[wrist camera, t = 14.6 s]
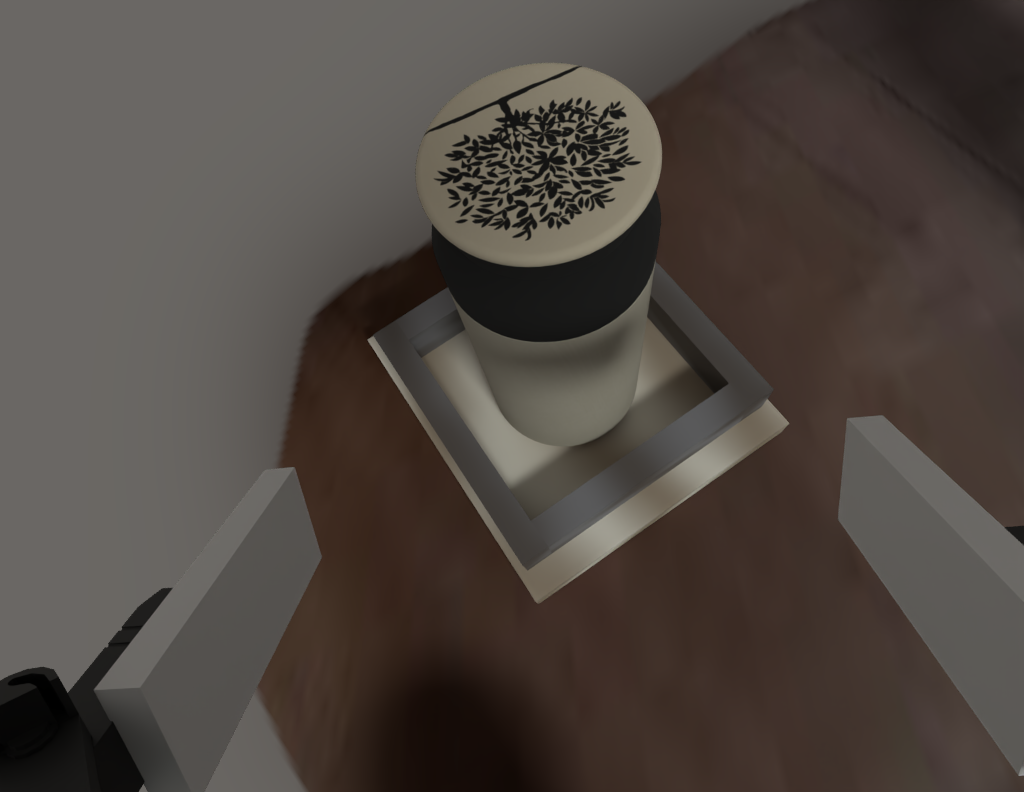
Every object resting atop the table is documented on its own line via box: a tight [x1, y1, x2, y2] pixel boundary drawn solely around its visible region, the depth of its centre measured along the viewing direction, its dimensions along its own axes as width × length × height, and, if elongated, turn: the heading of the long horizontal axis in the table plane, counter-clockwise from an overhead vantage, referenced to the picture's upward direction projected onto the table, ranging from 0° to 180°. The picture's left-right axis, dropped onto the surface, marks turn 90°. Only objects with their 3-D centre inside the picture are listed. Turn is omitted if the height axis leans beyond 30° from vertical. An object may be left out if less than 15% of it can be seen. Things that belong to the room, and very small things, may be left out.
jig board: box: [368, 261, 789, 604], centre depth 36 cm, size 16×18×4 cm
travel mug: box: [416, 63, 662, 446], centre depth 28 cm, size 8×8×18 cm
